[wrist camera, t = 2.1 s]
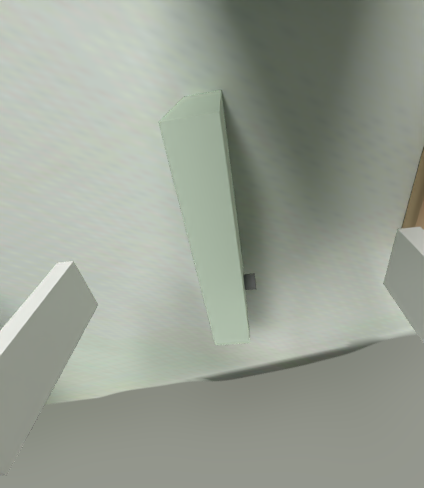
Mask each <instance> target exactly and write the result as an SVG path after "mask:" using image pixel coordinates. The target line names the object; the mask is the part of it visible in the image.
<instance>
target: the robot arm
mask: <svg viewBox="0 0 424 488" xmlns="http://www.w3.org/2000/svg"><path fill="white" fill-rule="evenodd" d="M383 284H384V285H385V287H386V288H387V290H388V291H389V293H390V294H391V296H392V297H393V299H394V300H395V302H396V303H397V305H398V306H399V308H400V309H401V311H402V312H403V314H404V315H405V317H406V318H407V320H408V321H409V323H410V324H411V326H412V327H413V329H414V330H415V332H416V333H417V335H418V336H419V338H420V339H421V340H422V342H423V343H424V230H423V229H422V228H421V227H411V228H401V229H397V233H396V237H395V241H394V244H393V248H392V252H391V256H390V260H389V264H388V268H387V271H386V275H385V279H384V283H383ZM97 306H98V303H97V302H96V300H95V298H94V296H93V295H92V293H91V291H90V289H89V288H88V286H87V284H86V282H85V281H84V279H83V277H82V275H81V274H80V272H79V270H78V268H77V267H76V265H75V263H74V261H70V262H60V263H57V264H56V265H55V266H54V267H53V269H52V270H51V271H50V272H49V273H48V275H47V276H46V277H45V278H44V279H43V281H42V282H41V283H40V284H39V285H38V286H37V288H36V289H35V290H34V291H33V292H32V294H31V295H30V296H29V297H28V298H27V299H26V301H25V302H24V303H23V304H22V305H21V307H20V308H19V309H18V310H17V311H16V313H15V314H14V315H13V316H12V317H11V318H10V320H9V321H8V322H7V323H6V324H5V326H4V327H3V328H2V329H1V330H0V475H5V476H6V475H7V474H8V472H9V470H10V468H11V466H12V464H13V463H14V461H15V459H16V457H17V455H18V453H19V451H20V450H21V448H22V446H23V444H24V442H25V440H26V438H27V437H28V435H29V433H30V431H31V429H32V427H33V425H34V424H35V422H36V420H37V418H38V416H39V414H40V412H41V410H42V409H43V407H44V405H45V403H46V401H47V399H48V397H49V396H50V394H51V392H52V390H53V388H54V386H55V384H56V383H57V381H58V379H59V377H60V375H61V373H62V371H63V369H64V368H65V366H66V364H67V362H68V360H69V358H70V356H71V355H72V353H73V351H74V349H75V347H76V345H77V343H78V342H79V340H80V338H81V336H82V334H83V332H84V330H85V328H86V327H87V325H88V323H89V321H90V319H91V317H92V315H93V314H94V312H95V310H96V308H97Z"/></svg>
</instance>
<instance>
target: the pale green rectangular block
mask: <svg viewBox="0 0 424 488" xmlns="http://www.w3.org/2000/svg"><path fill="white" fill-rule="evenodd" d="M159 126H160V130H161V134H162V138H163V142H164V146H165V150H166V154H167V158H168V162H169V166H170V169H171V173H172V177H173V181H174V185H175V189H176V193H177V197H178V201H179V205H180V209H181V213H182V217H183V221H184V224H185V228H186V232H187V236H188V240H189V244H190V248H191V252H192V256H193V260H194V264H195V268H196V272H197V276H198V279H199V283H200V287H201V291H202V295H203V299H204V303H205V307H206V311H207V315H208V319H209V323H210V327H211V330H212V334H213V338H214V342H215V345H230V344H245V343H250V334H249V323H248V312H247V301H246V290H253V289H256V282H255V274H244V268H243V259H242V251H241V243H240V235H239V227H238V219H237V211H236V203H235V195H234V187H233V179H232V171H231V163H230V156H229V148H228V140H227V132H226V124H225V116H224V108H223V100H222V92H221V90H217V91H212V92H206V93H201V94H195V95H190V96H184V97H183V98H182V99H181V100H180V101H179V102H178V103H177V104H176V105H175V106H174V107H173V108H172V109H171V110H170V111H169V112H168V113H167V114H166V115H165V116H164V117H163V118H162V119H161V120H160V121H159Z"/></svg>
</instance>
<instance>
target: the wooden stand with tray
mask: <svg viewBox="0 0 424 488" xmlns="http://www.w3.org/2000/svg"><path fill="white" fill-rule="evenodd" d="M411 227H421V228H422V229H423V230H424V149H423V152H422V156H421V160H420V163H419V167H418V171H417V174H416V178H415V182H414V185H413V189H412V193H411V196H410V200H409V204H408V207H407V211H406V215H405V219H404V222H403V226H402V228H411Z"/></svg>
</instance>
